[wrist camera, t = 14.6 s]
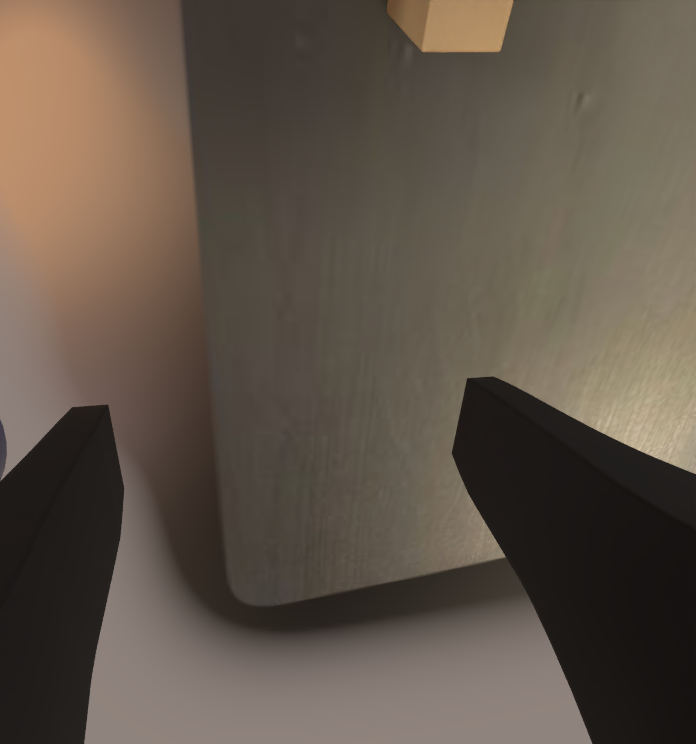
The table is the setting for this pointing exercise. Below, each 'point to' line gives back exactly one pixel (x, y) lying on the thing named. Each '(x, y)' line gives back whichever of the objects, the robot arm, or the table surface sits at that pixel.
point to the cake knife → (453, 23)
